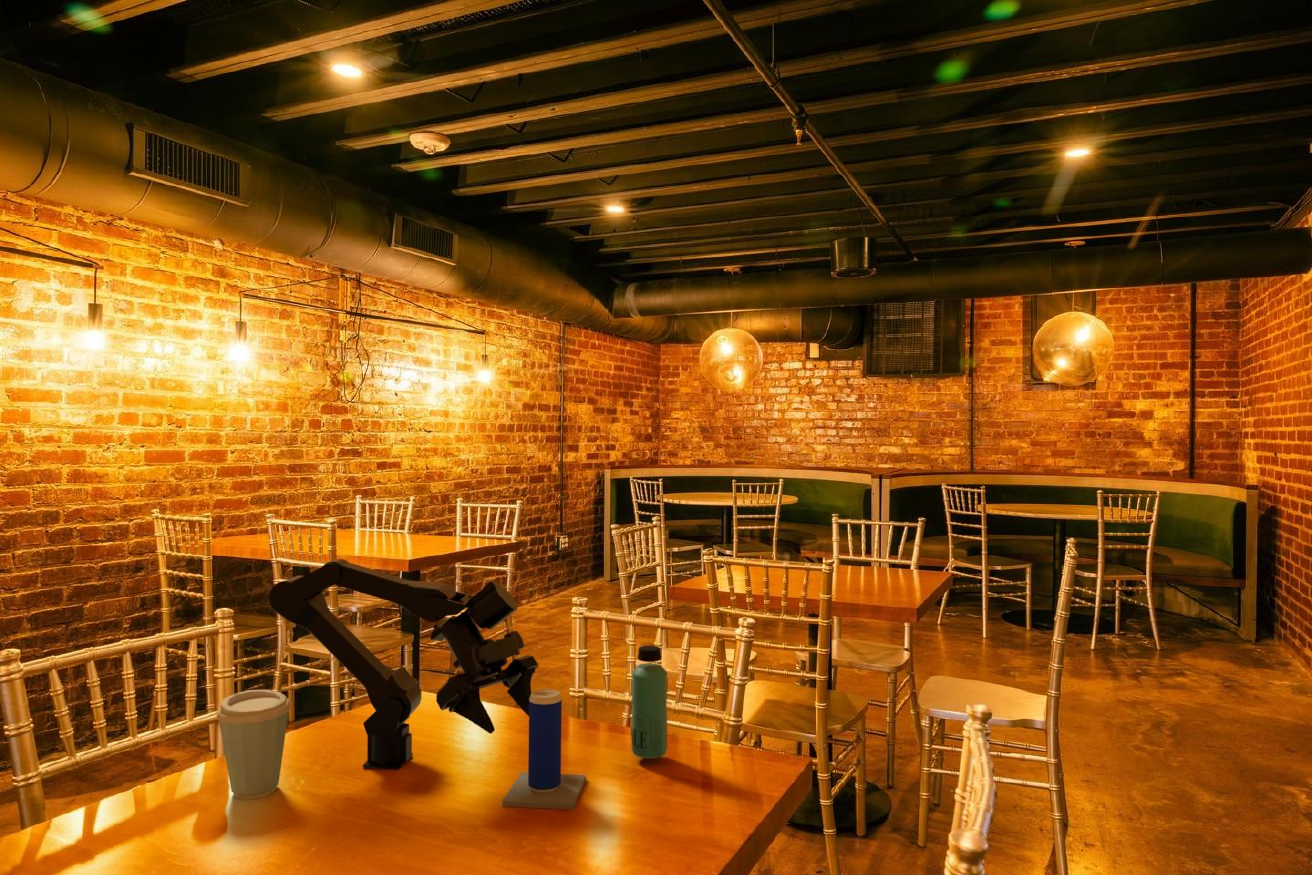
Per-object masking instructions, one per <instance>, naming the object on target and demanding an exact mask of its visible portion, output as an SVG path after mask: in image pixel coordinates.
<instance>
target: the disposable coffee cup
mask: <svg viewBox="0 0 1312 875" xmlns="http://www.w3.org/2000/svg"><path fill="white" fill-rule="evenodd" d="M219 706H220V707H219V708H218V711H217V713H216V718H215V720H217V721H218V723H219V724H218V725H219V728H220V735H221V740H222V746H223V751H224V756H225V763H226V769H227V773H228V778H229V779H228V780H229V784H230V785H229V786H230V789H231V793H233V797H235V798H236V799H238V800H246V801H249V800H250V801H251V800H256V799H257V800H258V799H260V798H264V797H266V796H270V795H271V794H273V793H274V792H275V791H277V788H278V786H279V782H280V775H281V770H282V769H281V768H282V762H283V752H284V747H285V741H286V733H287V726H288V719H289V711H290V710H291V700H290V699H289V698H287V696H286V695H285V694H283V693H281V692H279V691H275V690H270V689H269V690H268V689H249V690H248V689H247V690H245V691H240V692H236V693H233V694H231V695H228V696H227V697H225V698H223V699H222V701H221V703H220V705H219Z"/></svg>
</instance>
